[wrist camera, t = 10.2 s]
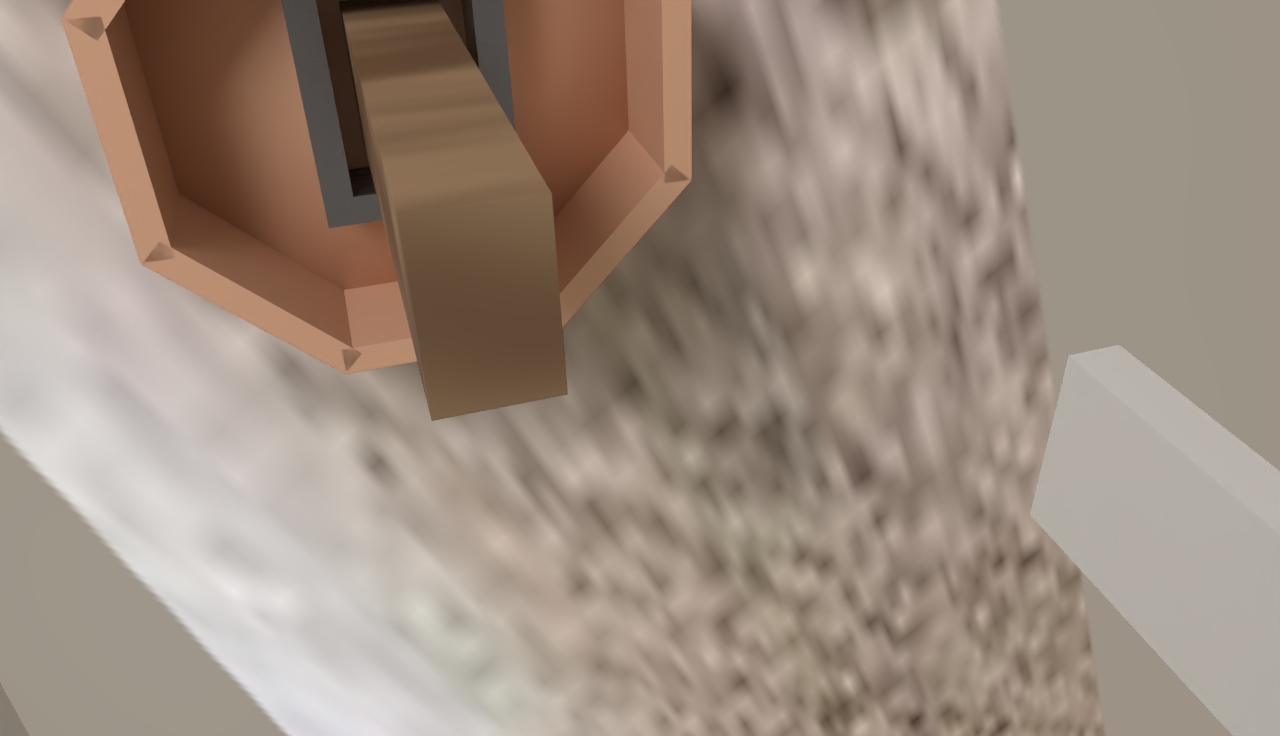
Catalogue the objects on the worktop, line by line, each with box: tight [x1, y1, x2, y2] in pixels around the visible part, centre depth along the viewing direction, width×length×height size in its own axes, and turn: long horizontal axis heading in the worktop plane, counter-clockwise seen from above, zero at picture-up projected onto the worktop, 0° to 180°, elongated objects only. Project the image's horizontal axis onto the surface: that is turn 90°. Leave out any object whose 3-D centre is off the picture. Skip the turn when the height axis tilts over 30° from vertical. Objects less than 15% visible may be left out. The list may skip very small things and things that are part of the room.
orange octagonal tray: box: [62, 0, 692, 374], centre depth 28 cm, size 15×15×4 cm
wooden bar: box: [339, 0, 568, 421], centre depth 24 cm, size 4×2×14 cm, turn 2°
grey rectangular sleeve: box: [281, 0, 516, 228], centre depth 29 cm, size 7×5×2 cm
